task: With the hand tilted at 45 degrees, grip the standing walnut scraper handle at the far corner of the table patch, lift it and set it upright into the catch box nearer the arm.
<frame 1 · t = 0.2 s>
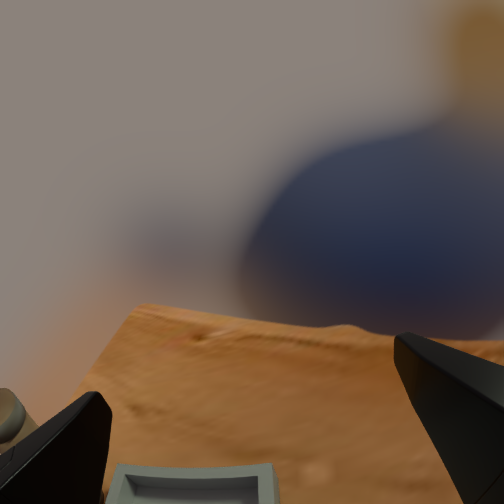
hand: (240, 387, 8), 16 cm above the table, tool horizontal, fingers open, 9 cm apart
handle: (84, 498, 16), on the table
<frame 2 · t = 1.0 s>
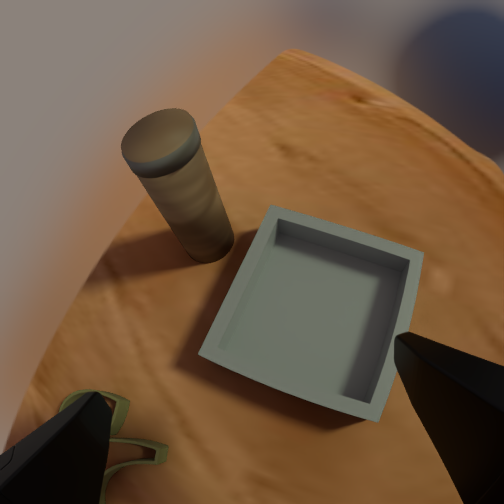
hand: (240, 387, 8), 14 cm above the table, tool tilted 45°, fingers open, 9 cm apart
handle: (209, 240, 26), on the table
cookie cutter: (97, 477, 18), on the table
catch box: (319, 315, 22), on the table
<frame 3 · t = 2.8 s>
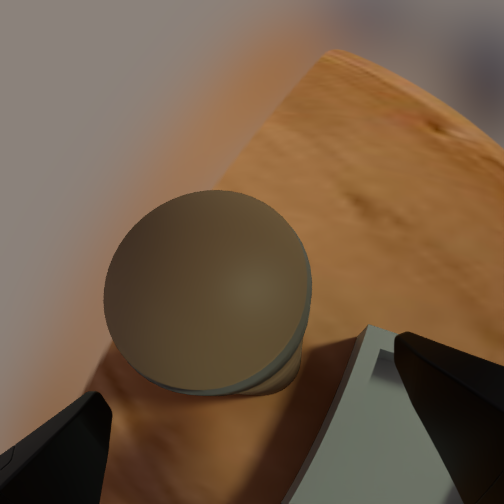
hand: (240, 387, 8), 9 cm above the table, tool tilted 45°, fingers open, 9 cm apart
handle: (263, 358, 17), on the table
catch box: (411, 458, 12), on the table
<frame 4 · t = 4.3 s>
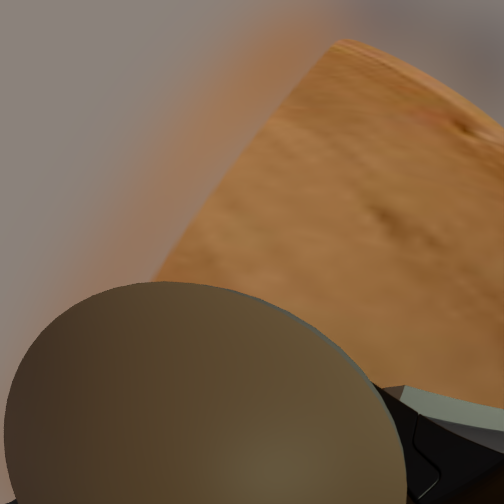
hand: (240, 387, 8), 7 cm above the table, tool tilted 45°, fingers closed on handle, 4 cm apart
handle: (270, 416, 13), on the table, touching gripper
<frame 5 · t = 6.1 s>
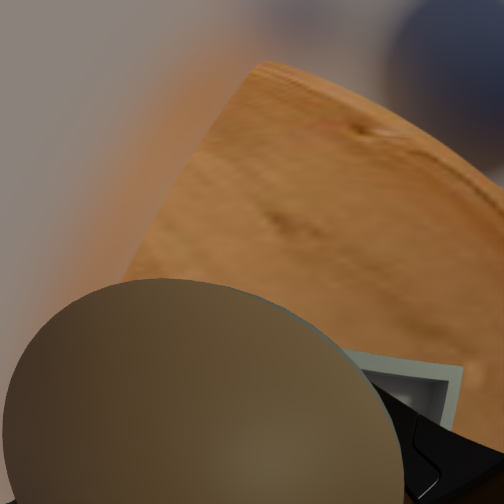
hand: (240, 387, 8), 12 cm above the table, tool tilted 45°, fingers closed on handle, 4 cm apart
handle: (269, 416, 13), point 6 cm above the table, touching gripper
catch box: (344, 446, 16), on the table
when the fingers open (9 cm above the table, at t = 7.8 s): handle drops 2 cm, resting on catch box.
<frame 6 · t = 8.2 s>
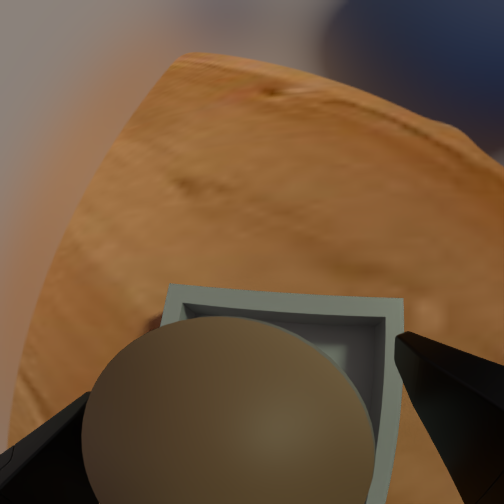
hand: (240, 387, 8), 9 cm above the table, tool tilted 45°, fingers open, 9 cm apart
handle: (272, 415, 14), point 1 cm above the table, touching catch box
catch box: (274, 413, 15), on the table
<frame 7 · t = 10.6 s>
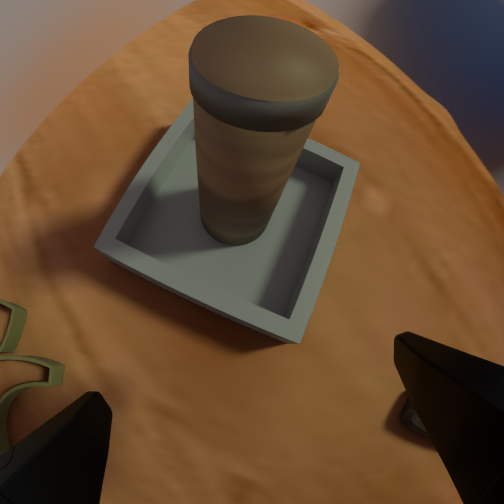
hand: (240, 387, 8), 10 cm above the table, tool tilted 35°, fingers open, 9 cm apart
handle: (234, 212, 19), point 1 cm above the table, touching catch box
catch box: (234, 217, 20), on the table
cleaver: (500, 407, 19), on the table
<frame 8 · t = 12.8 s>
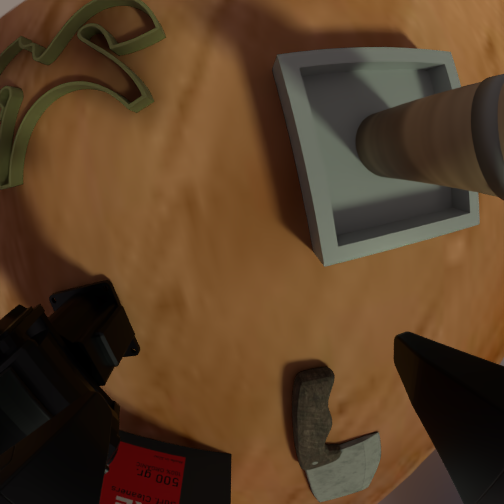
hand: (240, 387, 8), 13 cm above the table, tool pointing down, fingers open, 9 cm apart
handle: (385, 144, 17), point 1 cm above the table, touching catch box
cookie cutter: (59, 84, 16), on the table
catch box: (381, 145, 18), on the table
cleaver: (337, 447, 28), on the table
cleaning product box: (154, 458, 27), on the table
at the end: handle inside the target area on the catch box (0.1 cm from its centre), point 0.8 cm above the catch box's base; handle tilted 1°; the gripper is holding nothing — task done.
